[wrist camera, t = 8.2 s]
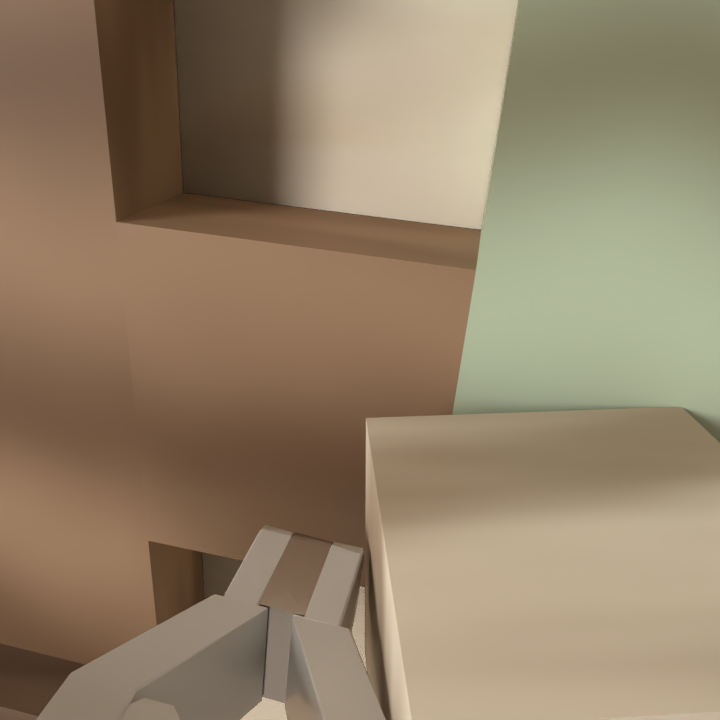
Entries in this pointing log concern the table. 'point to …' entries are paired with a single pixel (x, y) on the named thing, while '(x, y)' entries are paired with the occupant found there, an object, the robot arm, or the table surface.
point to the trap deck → (313, 305)
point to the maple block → (543, 566)
